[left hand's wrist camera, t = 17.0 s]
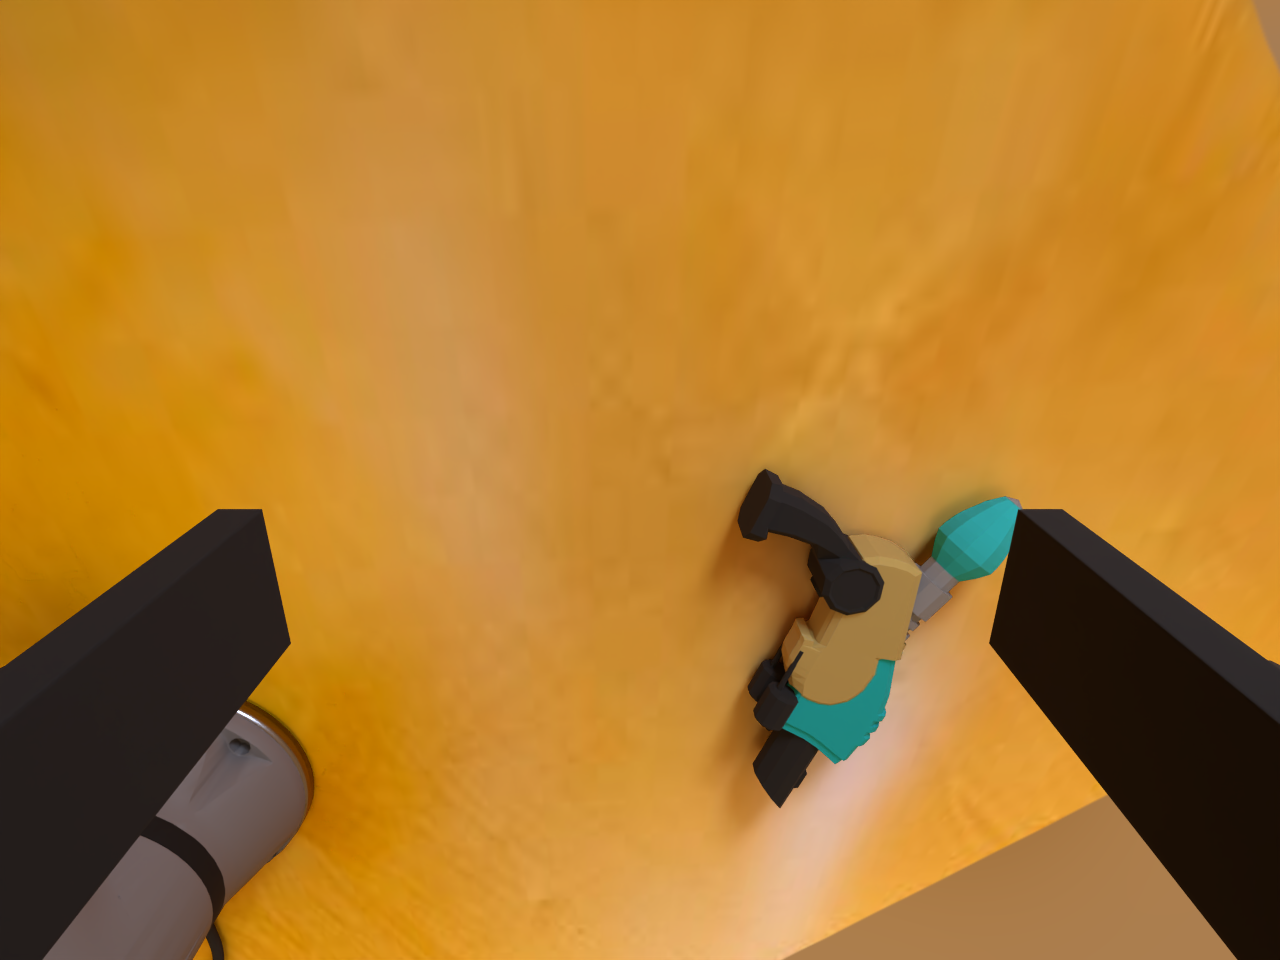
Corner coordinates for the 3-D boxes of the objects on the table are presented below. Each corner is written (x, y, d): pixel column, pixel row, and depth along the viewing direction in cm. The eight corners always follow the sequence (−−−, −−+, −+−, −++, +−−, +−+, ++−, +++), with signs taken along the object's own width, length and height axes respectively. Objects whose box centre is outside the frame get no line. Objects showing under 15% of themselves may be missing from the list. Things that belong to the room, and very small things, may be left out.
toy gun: (621, 775, 45) (827, 844, 48) (814, 418, 37) (1054, 522, 39) (622, 728, 49) (811, 792, 52) (796, 397, 41) (1013, 491, 43)
